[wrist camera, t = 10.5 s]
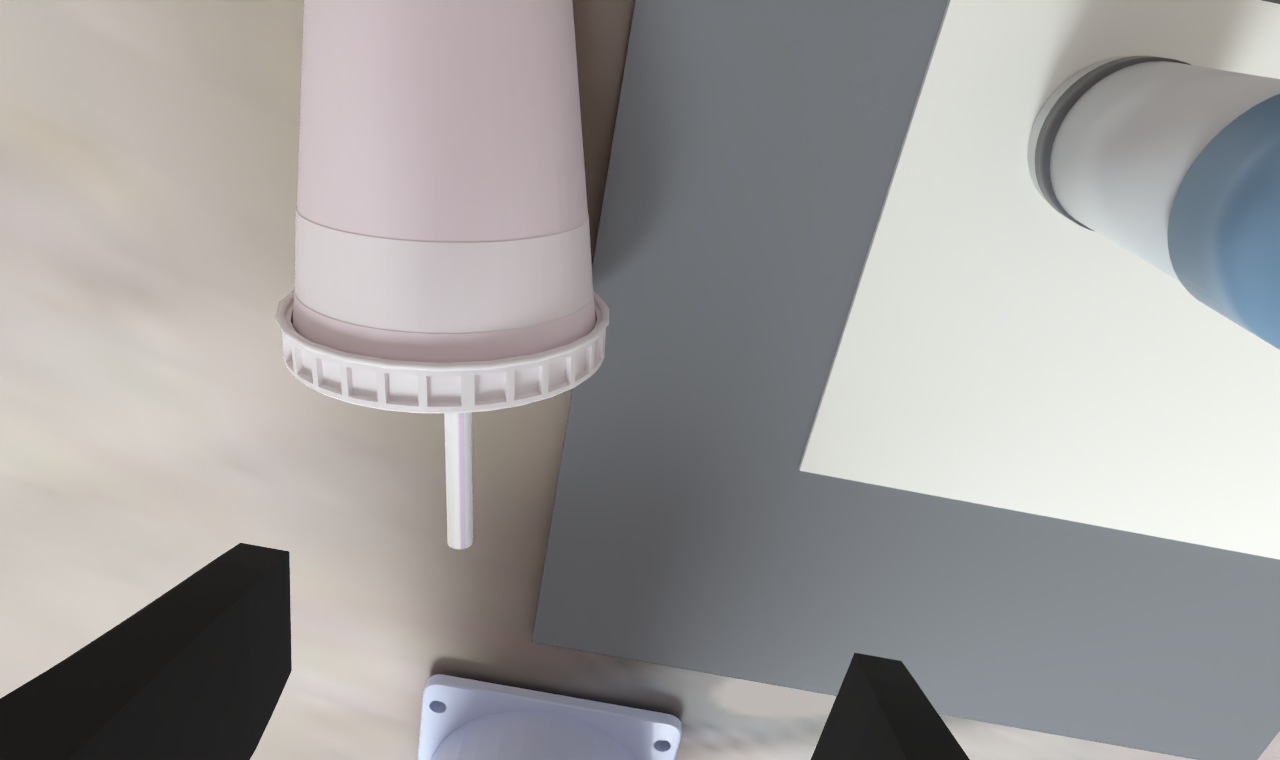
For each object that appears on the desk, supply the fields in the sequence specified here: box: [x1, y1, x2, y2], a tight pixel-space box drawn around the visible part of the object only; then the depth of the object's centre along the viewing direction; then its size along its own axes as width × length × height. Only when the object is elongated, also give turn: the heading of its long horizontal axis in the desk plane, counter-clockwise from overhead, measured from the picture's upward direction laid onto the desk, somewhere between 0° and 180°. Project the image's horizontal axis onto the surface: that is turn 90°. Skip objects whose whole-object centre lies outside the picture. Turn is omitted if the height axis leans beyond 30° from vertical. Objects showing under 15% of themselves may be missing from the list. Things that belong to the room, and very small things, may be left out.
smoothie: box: [275, 0, 609, 549], centre depth 15 cm, size 6×6×14 cm
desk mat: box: [532, 0, 1280, 760], centre depth 19 cm, size 22×22×1 cm
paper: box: [799, 0, 1280, 560], centre depth 18 cm, size 12×16×1 cm
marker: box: [1027, 56, 1280, 350], centre depth 13 cm, size 3×3×8 cm
